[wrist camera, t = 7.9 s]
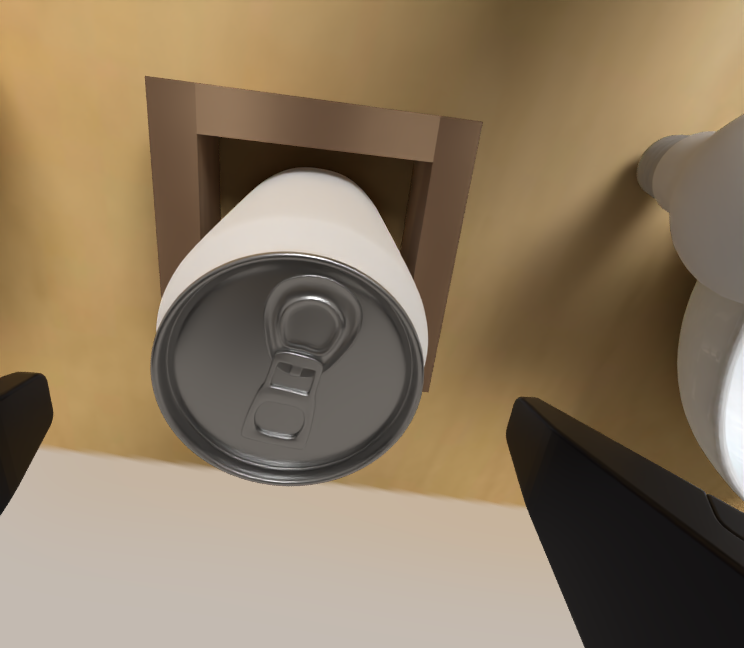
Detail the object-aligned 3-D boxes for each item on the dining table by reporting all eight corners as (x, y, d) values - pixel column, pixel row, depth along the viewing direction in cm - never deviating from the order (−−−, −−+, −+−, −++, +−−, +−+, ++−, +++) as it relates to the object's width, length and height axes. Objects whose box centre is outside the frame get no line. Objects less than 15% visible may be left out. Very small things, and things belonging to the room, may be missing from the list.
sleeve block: (456, 120, 19) (482, 121, 16) (414, 354, 23) (428, 392, 20) (177, 82, 17) (144, 76, 14) (190, 340, 22) (167, 378, 19)
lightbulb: (765, 146, 20) (1122, 206, 10) (648, 255, 22) (842, 389, 12) (670, 51, 18) (977, 13, 9) (557, 179, 21) (695, 263, 11)
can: (404, 195, 20) (495, 288, 9) (357, 324, 22) (383, 522, 11) (257, 142, 18) (154, 177, 8) (222, 285, 21) (107, 469, 10)
